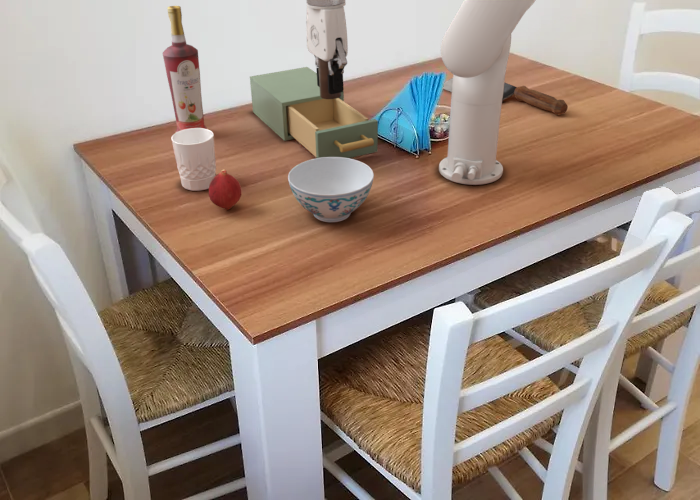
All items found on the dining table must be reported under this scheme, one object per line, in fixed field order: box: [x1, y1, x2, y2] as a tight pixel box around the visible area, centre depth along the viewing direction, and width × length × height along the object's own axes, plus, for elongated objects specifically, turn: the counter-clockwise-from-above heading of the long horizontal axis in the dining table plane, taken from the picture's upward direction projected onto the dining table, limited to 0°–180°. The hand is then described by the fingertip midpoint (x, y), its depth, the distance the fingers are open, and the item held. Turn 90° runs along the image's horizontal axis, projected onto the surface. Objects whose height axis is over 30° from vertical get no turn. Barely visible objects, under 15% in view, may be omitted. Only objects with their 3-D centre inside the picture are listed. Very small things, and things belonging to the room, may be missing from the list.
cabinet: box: [249, 66, 345, 142], centre depth 164 cm, size 20×15×9 cm
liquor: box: [162, 5, 208, 133], centre depth 152 cm, size 7×7×28 cm
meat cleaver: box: [442, 77, 568, 116], centre depth 175 cm, size 34×11×4 cm, turn 36°
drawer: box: [286, 98, 379, 159], centre depth 150 cm, size 23×14×7 cm, turn 27°
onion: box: [208, 169, 242, 211], centre depth 128 cm, size 6×6×8 cm
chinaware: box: [287, 157, 375, 223], centre depth 126 cm, size 15×15×8 cm
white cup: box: [170, 128, 217, 192], centre depth 137 cm, size 8×8×10 cm
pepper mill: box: [317, 55, 341, 99], centre depth 144 cm, size 4×4×9 cm
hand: (330, 88), depth 146 cm, fingers closed on pepper mill, 4 cm apart
